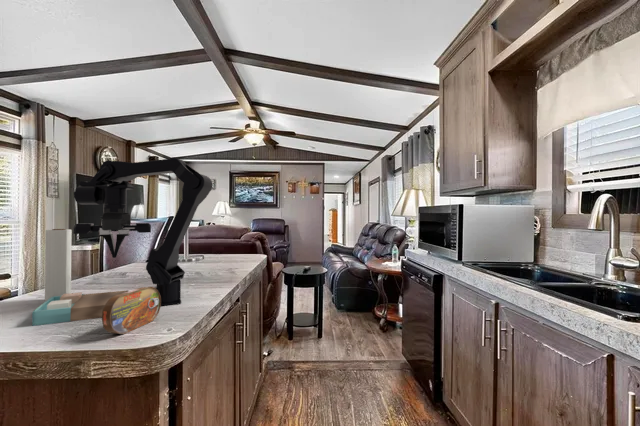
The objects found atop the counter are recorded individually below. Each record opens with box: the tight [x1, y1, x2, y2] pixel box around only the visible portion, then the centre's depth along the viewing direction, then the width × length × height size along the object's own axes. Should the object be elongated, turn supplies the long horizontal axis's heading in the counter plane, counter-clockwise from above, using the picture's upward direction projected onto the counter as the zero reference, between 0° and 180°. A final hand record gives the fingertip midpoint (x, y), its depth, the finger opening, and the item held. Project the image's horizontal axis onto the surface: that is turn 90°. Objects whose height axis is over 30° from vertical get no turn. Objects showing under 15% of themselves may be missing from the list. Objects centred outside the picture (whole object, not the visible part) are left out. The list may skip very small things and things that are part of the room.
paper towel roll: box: [44, 228, 73, 302], centre depth 95 cm, size 7×6×21 cm
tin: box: [101, 286, 161, 335], centre depth 72 cm, size 15×3×8 cm, turn 168°
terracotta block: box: [60, 291, 83, 304], centre depth 86 cm, size 4×4×2 cm
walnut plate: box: [69, 289, 129, 322], centre depth 86 cm, size 11×16×3 cm
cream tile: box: [47, 299, 72, 310], centre depth 79 cm, size 4×4×2 cm
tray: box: [31, 293, 84, 327], centre depth 82 cm, size 7×16×3 cm, turn 28°
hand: (114, 257), depth 94 cm, fingers closed
